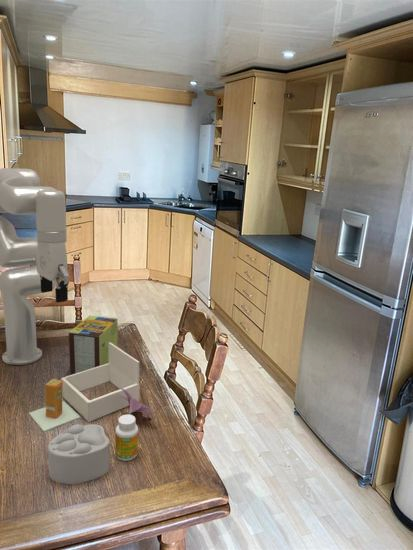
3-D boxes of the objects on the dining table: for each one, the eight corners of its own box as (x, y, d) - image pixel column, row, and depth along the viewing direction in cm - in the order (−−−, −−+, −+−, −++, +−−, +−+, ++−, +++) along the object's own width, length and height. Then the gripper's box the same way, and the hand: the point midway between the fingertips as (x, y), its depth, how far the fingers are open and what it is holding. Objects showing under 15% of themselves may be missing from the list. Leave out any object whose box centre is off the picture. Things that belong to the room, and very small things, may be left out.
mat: (28, 414, 118) (28, 412, 117) (63, 401, 124) (63, 400, 124) (44, 432, 111) (43, 430, 110) (80, 418, 117) (80, 416, 117)
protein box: (118, 359, 151) (118, 318, 147) (100, 381, 136) (99, 336, 132) (89, 355, 153) (89, 314, 148) (69, 376, 138) (67, 331, 134)
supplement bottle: (119, 464, 101) (119, 428, 99) (112, 449, 106) (112, 415, 103) (140, 457, 104) (141, 422, 101) (133, 444, 108) (134, 410, 106)
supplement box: (56, 419, 115) (55, 386, 113) (45, 417, 116) (43, 383, 113) (63, 412, 118) (62, 380, 116) (52, 410, 119) (51, 377, 117)
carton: (61, 396, 127) (60, 356, 123) (110, 379, 138) (110, 342, 134) (88, 422, 115) (87, 379, 112) (139, 402, 126) (139, 362, 123)
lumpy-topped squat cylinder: (112, 473, 98) (112, 441, 96) (53, 491, 92) (51, 457, 90) (100, 446, 107) (100, 415, 105) (45, 460, 101) (44, 429, 98)
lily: (156, 437, 113) (166, 400, 115) (114, 429, 108) (126, 391, 110) (140, 425, 124) (150, 391, 126) (101, 417, 118) (112, 382, 120)
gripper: (25, 232, 120) (28, 290, 124) (52, 244, 108) (54, 308, 112) (51, 230, 125) (53, 286, 129) (79, 241, 113) (81, 302, 117)
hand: (54, 296), depth 121 cm, fingers open, 9 cm apart
